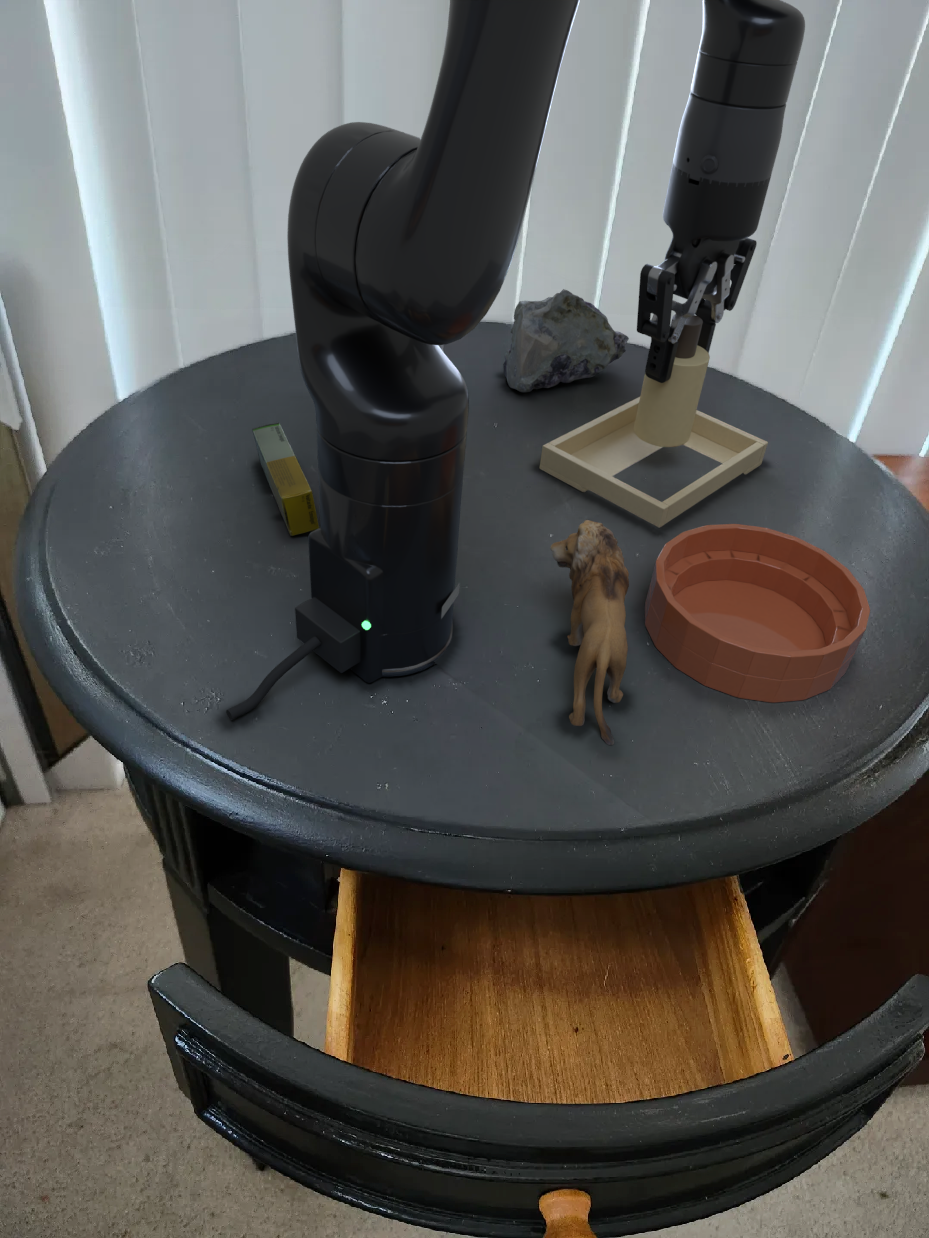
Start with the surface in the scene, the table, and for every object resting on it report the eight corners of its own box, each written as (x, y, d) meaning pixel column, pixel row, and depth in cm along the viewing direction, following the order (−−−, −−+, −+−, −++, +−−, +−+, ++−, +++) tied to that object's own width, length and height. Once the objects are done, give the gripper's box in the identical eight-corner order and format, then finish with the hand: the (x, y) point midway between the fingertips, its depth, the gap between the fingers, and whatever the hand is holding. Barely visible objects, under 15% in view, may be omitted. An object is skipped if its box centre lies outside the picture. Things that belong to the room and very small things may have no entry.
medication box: (258, 465, 84) (250, 426, 81) (287, 459, 84) (280, 420, 82) (289, 538, 75) (281, 497, 73) (321, 530, 76) (314, 489, 73)
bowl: (781, 742, 62) (804, 689, 59) (603, 629, 70) (614, 578, 66) (880, 640, 71) (904, 590, 68) (711, 551, 78) (726, 501, 75)
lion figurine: (536, 607, 71) (551, 509, 65) (604, 606, 72) (625, 509, 66) (572, 752, 60) (594, 650, 54) (651, 749, 61) (681, 649, 55)
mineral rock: (622, 367, 104) (639, 279, 98) (619, 412, 96) (638, 318, 90) (509, 353, 105) (518, 264, 99) (497, 395, 97) (506, 302, 91)
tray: (658, 533, 80) (664, 509, 78) (539, 468, 87) (542, 445, 85) (761, 464, 90) (768, 442, 88) (647, 411, 97) (652, 389, 95)
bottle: (668, 453, 83) (696, 337, 76) (622, 431, 86) (645, 316, 78) (700, 435, 86) (730, 321, 79) (654, 414, 89) (679, 302, 81)
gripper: (730, 139, 77) (685, 334, 88) (627, 166, 68) (592, 377, 79) (811, 161, 73) (753, 362, 84) (713, 192, 65) (664, 410, 76)
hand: (675, 368), depth 82 cm, fingers closed on bottle, 5 cm apart
